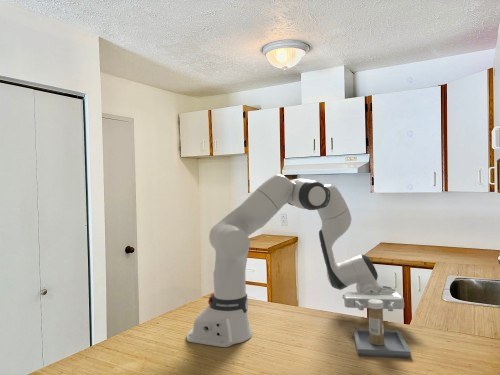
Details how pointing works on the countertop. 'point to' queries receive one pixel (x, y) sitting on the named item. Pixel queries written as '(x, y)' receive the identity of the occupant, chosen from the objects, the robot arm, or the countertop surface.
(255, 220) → the robot arm
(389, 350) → the tray
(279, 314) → the countertop surface
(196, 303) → the countertop surface
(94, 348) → the countertop surface
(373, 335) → the sprinkles bottle
